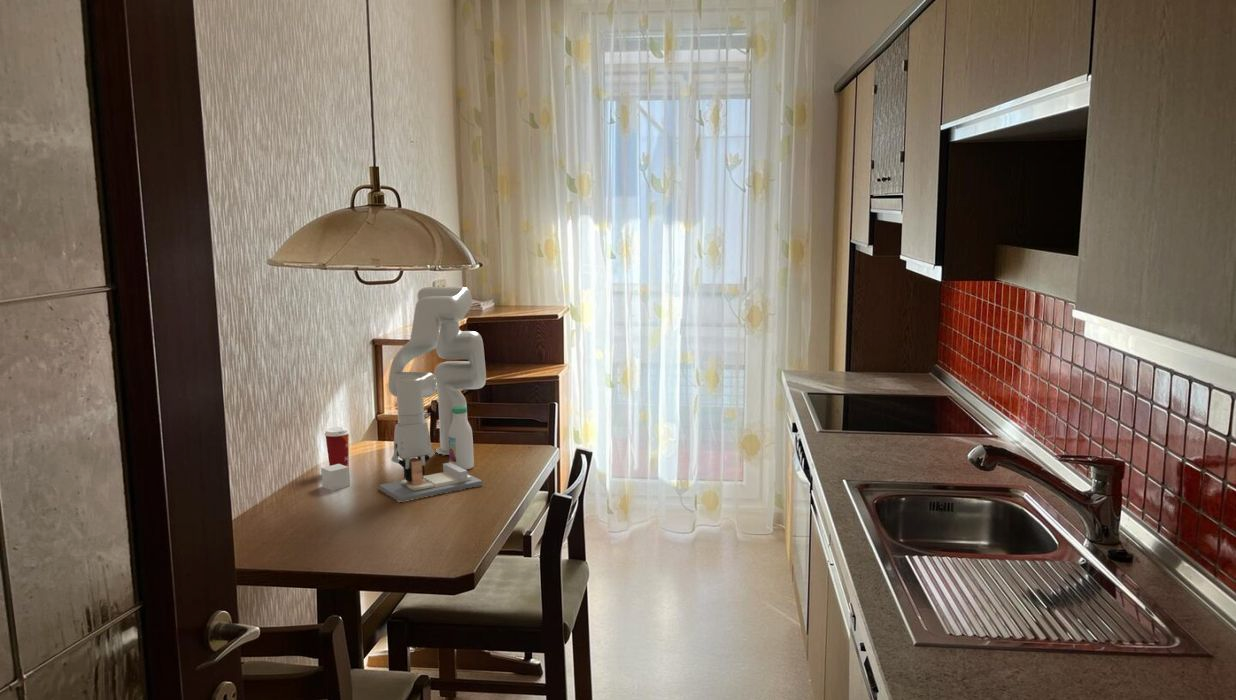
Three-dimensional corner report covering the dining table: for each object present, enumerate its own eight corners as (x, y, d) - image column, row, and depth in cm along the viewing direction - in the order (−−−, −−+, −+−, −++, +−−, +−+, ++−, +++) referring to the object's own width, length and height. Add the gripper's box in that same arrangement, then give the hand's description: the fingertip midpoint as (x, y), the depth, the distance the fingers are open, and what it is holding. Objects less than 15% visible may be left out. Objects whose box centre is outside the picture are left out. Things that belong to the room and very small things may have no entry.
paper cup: (355, 472, 282) (352, 429, 280) (331, 476, 277) (328, 433, 275) (346, 467, 288) (344, 425, 286) (323, 471, 283) (320, 429, 281)
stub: (401, 483, 263) (399, 457, 262) (419, 479, 267) (418, 454, 265) (414, 490, 255) (412, 464, 254) (433, 487, 259) (432, 461, 257)
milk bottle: (475, 464, 289) (472, 404, 286) (472, 470, 281) (469, 409, 278) (451, 464, 288) (449, 405, 285) (448, 471, 281) (445, 410, 278)
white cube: (332, 490, 263) (330, 471, 262) (322, 487, 267) (320, 467, 266) (350, 486, 267) (349, 467, 266) (340, 482, 271) (339, 463, 270)
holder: (379, 489, 262) (378, 473, 262) (458, 473, 278) (458, 458, 277) (400, 503, 250) (399, 486, 249) (482, 485, 265) (481, 469, 264)
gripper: (431, 412, 265) (434, 471, 268) (379, 420, 256) (383, 481, 258) (442, 417, 259) (445, 477, 262) (389, 425, 250) (392, 487, 252)
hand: (414, 478), depth 260 cm, fingers closed on stub, 3 cm apart
